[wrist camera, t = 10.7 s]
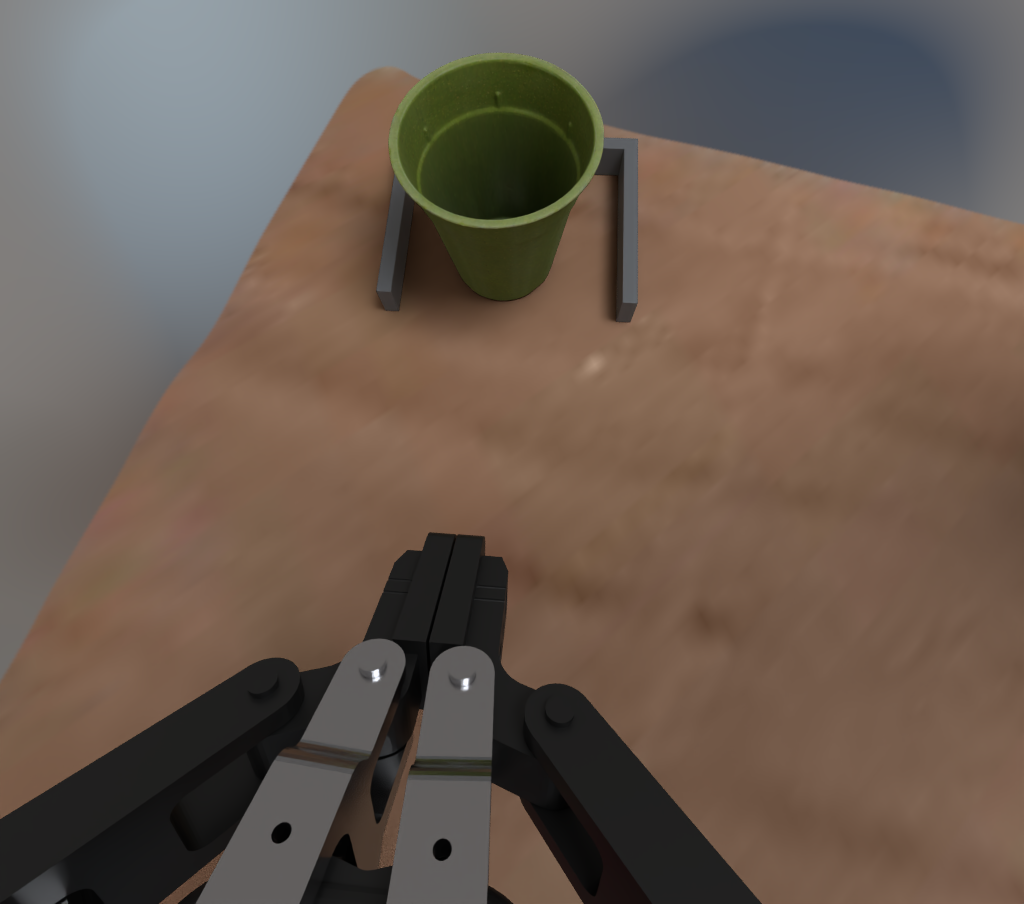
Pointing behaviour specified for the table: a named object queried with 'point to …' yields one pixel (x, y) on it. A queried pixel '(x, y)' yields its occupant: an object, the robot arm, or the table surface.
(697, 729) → the table surface
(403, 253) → the bay
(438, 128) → the plant pot
